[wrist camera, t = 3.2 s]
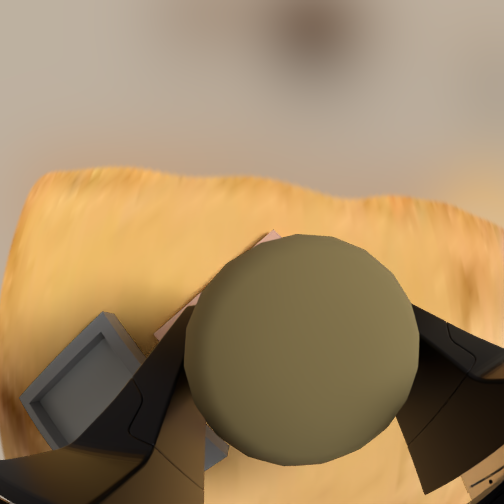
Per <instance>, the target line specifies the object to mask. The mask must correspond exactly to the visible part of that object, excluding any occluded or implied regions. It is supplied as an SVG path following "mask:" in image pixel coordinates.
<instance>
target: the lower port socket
mask: <svg viewBox="0 0 504 504" xmlns="http://www.w3.org/2000/svg"><path fill="white" fill-rule="evenodd" d="M145 359H146V357H145V355H144V354H143V353H142V352H141V350H140V349H139V348H138V346H137V345H136V344H135V342H134V341H133V340H132V338H131V337H130V336H129V334H128V333H127V331H126V330H125V329H124V327H123V326H122V324H121V323H120V322H119V320H118V319H117V317H116V316H115V314H112V313H108V312H102V313H100V314H99V315H98V316H97V317H96V318H95V319H94V320H93V321H92V322H91V323H90V324H89V325H88V326H87V327H86V328H85V329H84V330H83V331H82V332H81V333H80V334H79V335H78V336H77V337H76V338H75V339H74V340H73V341H72V342H71V343H70V344H69V345H68V346H67V347H66V348H65V349H64V350H63V351H62V352H61V353H60V354H59V355H58V356H57V357H56V358H55V359H54V360H53V361H52V362H51V363H50V364H49V365H48V366H47V368H46V369H45V370H44V371H43V372H42V373H41V374H40V375H39V376H38V377H37V378H36V379H35V380H34V381H33V383H32V384H31V385H30V386H29V387H28V388H27V389H26V390H25V391H24V393H23V394H22V395H21V396H20V397H19V399H20V401H21V402H22V404H23V406H24V408H25V409H26V411H27V413H28V414H29V416H30V418H31V419H32V421H33V422H34V424H35V425H36V427H37V428H38V430H39V432H40V433H41V434H42V436H43V437H44V439H45V440H46V442H47V443H48V444H49V446H50V447H51V449H52V450H56V449H60V448H63V447H65V446H67V445H69V444H70V443H72V442H73V441H74V440H76V439H77V438H78V437H79V436H80V435H81V434H82V433H83V432H84V431H85V430H86V429H87V427H88V426H89V425H90V424H91V423H92V422H93V421H94V420H95V419H96V418H97V417H98V416H99V415H100V414H101V413H102V412H103V411H104V410H105V409H106V407H107V406H108V405H109V404H110V403H111V402H112V401H113V400H114V399H115V397H116V396H117V395H118V394H119V392H120V391H121V390H122V389H123V388H124V386H125V385H126V384H127V382H128V381H129V380H130V379H131V378H132V376H133V375H134V373H135V372H136V371H137V370H138V368H139V367H140V366H141V364H142V363H143V362H144V360H145ZM228 449H229V445H228V444H226V443H225V442H224V441H223V440H222V439H221V438H220V437H219V436H217V435H216V433H215V432H213V431H212V430H211V429H210V428H209V427H208V426H207V425H206V433H205V464H204V471H206V470H207V469H209V468H210V467H212V466H213V465H215V464H216V463H218V462H219V461H221V460H222V459H224V458H225V457H227V455H228Z"/></svg>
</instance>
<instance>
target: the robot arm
mask: <svg viewBox="0 0 504 504" xmlns="http://www.w3.org/2000/svg"><path fill="white" fill-rule="evenodd" d="M195 306H196V305H190V306H187V307H186V308H185V309H184V311H183V312H182V313H181V314H180V316H179V317H178V318H177V319H176V321H175V322H174V323H173V325H172V326H171V327H170V328H169V330H168V331H167V332H166V333H165V335H164V336H163V337H162V339H161V340H160V341H159V342H158V344H157V345H156V346H155V348H154V349H153V350H152V351H151V353H150V354H149V355H148V357H147V358H146V359H145V360H144V362H143V363H142V364H141V366H140V367H139V368H138V370H137V371H136V372H135V373H134V375H133V376H132V378H131V379H130V380H129V381H128V382H127V384H126V385H125V386H124V388H123V389H122V390H121V391H120V392H119V394H118V395H117V396H116V397H115V399H114V400H113V401H112V402H111V403H110V404H109V405H108V406H107V407H106V409H105V410H104V411H103V412H102V413H101V414H100V415H99V416H98V417H97V418H96V419H95V420H94V421H93V422H92V423H91V424H90V425H89V426H88V427H87V429H86V430H85V431H84V432H83V433H82V434H81V435H80V436H79V437H78V438H77V439H76V440H74V441H73V442H72V443H70V444H69V445H67V446H65V447H63V448H60V449H56V450H52V451H48V452H44V453H40V454H35V455H30V456H25V457H20V458H15V459H8V460H0V495H1V496H3V497H4V498H6V499H7V500H9V501H10V502H8V501H6V500H4V499H2V498H1V497H0V504H204V491H203V490H204V464H205V433H206V420H205V418H204V417H203V416H202V414H201V413H200V411H199V410H198V409H197V407H196V406H195V404H194V400H193V397H192V393H191V390H190V387H189V383H188V379H187V376H186V372H185V368H184V354H185V339H186V327H187V325H188V323H189V320H190V318H191V315H192V313H193V311H194V308H195ZM412 308H413V312H414V315H415V319H416V323H417V327H418V331H419V358H418V369H417V372H416V375H415V378H414V381H413V384H412V387H411V390H410V393H409V395H408V398H407V400H406V402H405V403H404V405H403V406H402V408H401V409H400V410H399V412H398V413H397V415H396V418H397V421H398V423H399V426H400V428H401V431H402V433H403V436H404V438H405V441H406V443H407V445H408V449H409V452H410V455H411V457H412V460H413V463H414V466H415V468H416V471H417V474H418V477H419V480H420V483H421V486H422V489H423V492H424V494H425V495H426V494H428V493H430V492H432V491H434V490H436V489H438V488H440V487H442V486H443V485H445V484H447V483H449V482H450V481H452V480H454V479H456V478H457V477H459V476H461V478H462V481H463V483H464V485H465V488H466V490H467V492H468V493H469V495H470V497H471V499H472V501H470V502H469V503H467V504H504V348H501V347H499V346H497V345H495V344H492V343H490V342H488V341H485V340H483V339H481V338H478V337H476V336H474V335H472V334H470V333H467V332H465V331H463V330H461V329H460V328H458V327H456V326H454V325H452V324H450V323H448V322H447V323H446V321H444V320H442V319H440V318H438V317H436V316H435V315H433V314H431V313H429V312H427V311H425V310H423V309H421V308H419V307H417V306H415V305H413V304H412Z"/></svg>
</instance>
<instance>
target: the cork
mask: <svg viewBox="0 0 504 504" xmlns="http://www.w3.org/2000/svg"><path fill="white" fill-rule="evenodd" d="M418 358H419V331H418V327H417V323H416V319H415V315H414V312H413V308H412V304H411V302H410V300H409V299H408V297H407V295H406V294H405V292H404V291H403V289H402V287H401V286H400V284H399V283H398V281H397V279H396V278H395V276H394V275H393V274H392V273H391V271H389V270H388V269H387V268H386V267H385V266H383V265H382V264H381V263H380V262H379V261H378V260H376V259H375V258H374V257H373V256H372V255H370V254H369V253H368V252H367V251H366V250H364V249H361V248H359V247H357V246H354V245H352V244H349V243H347V242H344V241H342V240H339V239H337V238H334V237H329V236H316V235H302V234H295V235H291V236H287V237H283V238H279V239H275V240H270V241H266V242H262V243H260V244H258V245H256V246H255V247H253V248H251V249H250V250H248V251H246V252H245V253H243V254H241V255H240V256H238V257H237V258H235V259H233V260H232V261H230V262H228V263H227V264H226V265H225V266H224V267H223V268H222V269H221V271H220V272H219V273H218V274H217V275H216V276H215V277H214V279H213V280H212V281H211V282H210V283H209V284H208V285H207V287H206V288H205V289H204V290H203V291H202V292H201V294H200V296H199V299H198V301H197V304H196V306H195V308H194V311H193V313H192V315H191V318H190V320H189V323H188V325H187V327H186V339H185V354H184V368H185V372H186V376H187V379H188V383H189V387H190V390H191V393H192V397H193V400H194V404H195V406H196V407H197V409H198V410H199V411H200V413H201V414H202V416H203V417H204V418H205V420H206V421H207V423H208V424H209V425H210V427H211V428H212V429H213V431H214V432H215V433H216V435H217V436H219V437H220V438H221V439H223V440H224V441H226V442H227V443H229V444H230V445H232V446H233V447H234V448H236V449H237V450H239V451H240V452H242V453H244V454H245V455H247V456H248V457H252V458H255V459H259V460H262V461H266V462H270V463H274V464H278V465H282V466H298V465H313V464H322V463H326V462H329V461H331V460H334V459H337V458H339V457H342V456H344V455H347V454H349V453H352V452H354V451H357V450H359V449H361V448H362V447H363V446H365V445H366V444H367V443H369V442H370V441H371V440H372V439H374V438H375V437H376V436H377V435H379V434H380V433H381V432H382V431H384V430H385V429H386V428H387V427H388V426H389V424H390V423H391V422H392V420H393V419H394V418H395V416H396V415H397V413H398V412H399V410H400V409H401V408H402V406H403V405H404V403H405V402H406V400H407V398H408V395H409V393H410V390H411V387H412V384H413V381H414V378H415V375H416V372H417V369H418Z"/></svg>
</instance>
